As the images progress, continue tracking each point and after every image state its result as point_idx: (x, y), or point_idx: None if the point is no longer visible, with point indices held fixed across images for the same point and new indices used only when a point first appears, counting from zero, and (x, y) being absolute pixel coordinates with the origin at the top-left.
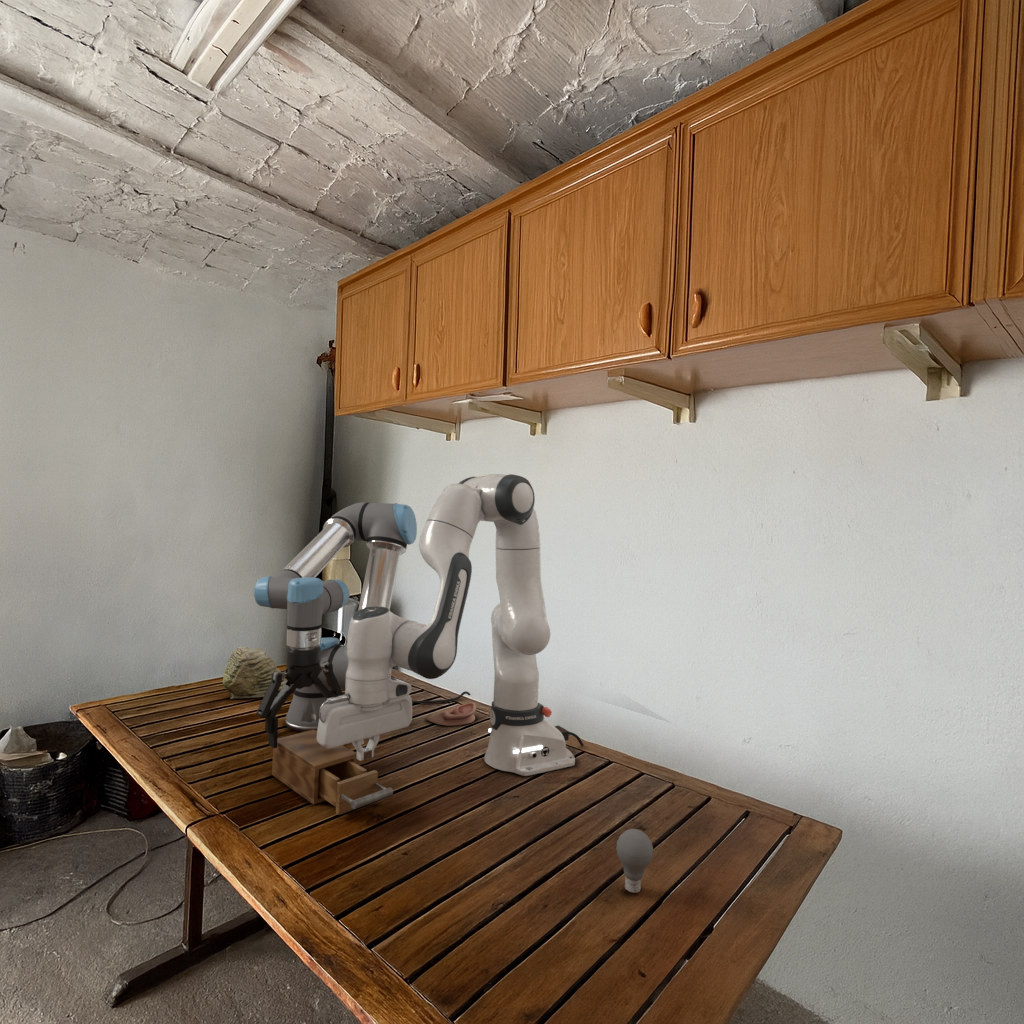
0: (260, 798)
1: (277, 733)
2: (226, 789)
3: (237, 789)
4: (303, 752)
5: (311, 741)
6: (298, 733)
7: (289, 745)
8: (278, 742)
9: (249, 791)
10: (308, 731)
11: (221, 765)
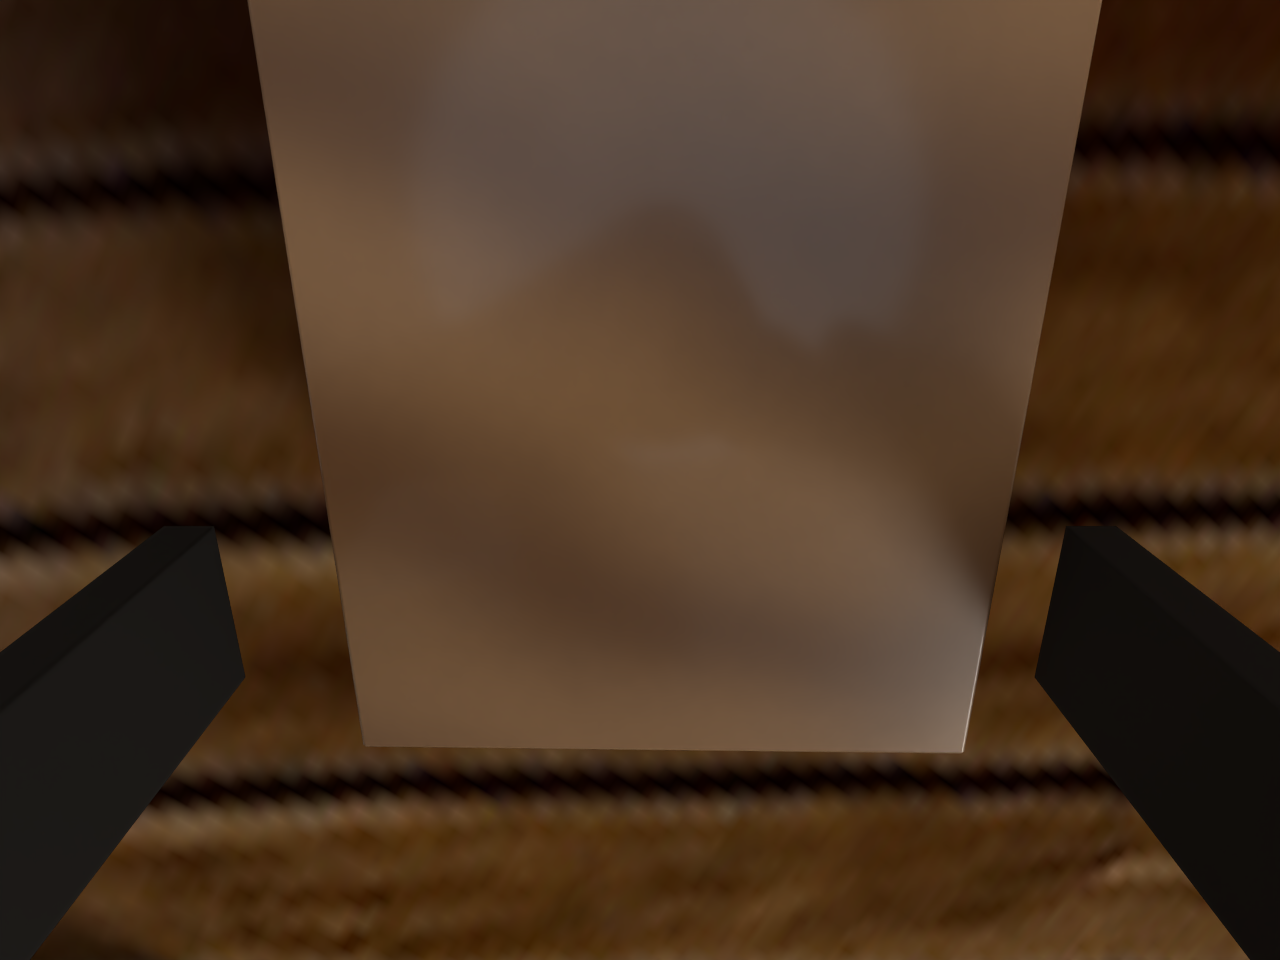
0: (1205, 174)
1: (1203, 639)
2: (1259, 530)
3: (1206, 475)
4: (966, 13)
5: (603, 381)
6: (603, 741)
7: (941, 448)
8: (979, 636)
9: (1170, 376)
10: (460, 725)
11: (1016, 893)
